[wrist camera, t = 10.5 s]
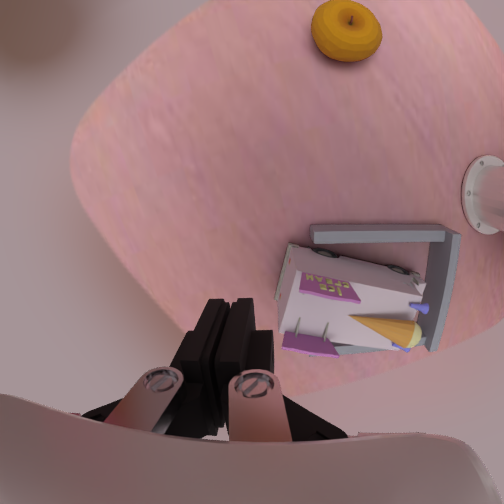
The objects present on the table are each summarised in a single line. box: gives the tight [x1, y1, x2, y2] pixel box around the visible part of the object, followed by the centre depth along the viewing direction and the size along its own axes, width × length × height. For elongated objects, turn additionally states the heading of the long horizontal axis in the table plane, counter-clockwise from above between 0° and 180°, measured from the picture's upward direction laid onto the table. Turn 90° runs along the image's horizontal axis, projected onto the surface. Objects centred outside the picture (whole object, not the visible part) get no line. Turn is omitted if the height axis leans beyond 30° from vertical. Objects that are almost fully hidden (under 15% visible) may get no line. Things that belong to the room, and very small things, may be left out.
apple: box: [311, 0, 382, 62], centre depth 27 cm, size 8×8×9 cm
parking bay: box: [309, 224, 461, 357], centre depth 38 cm, size 20×18×6 cm
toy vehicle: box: [274, 243, 429, 358], centre depth 34 cm, size 9×20×15 cm, turn 78°
